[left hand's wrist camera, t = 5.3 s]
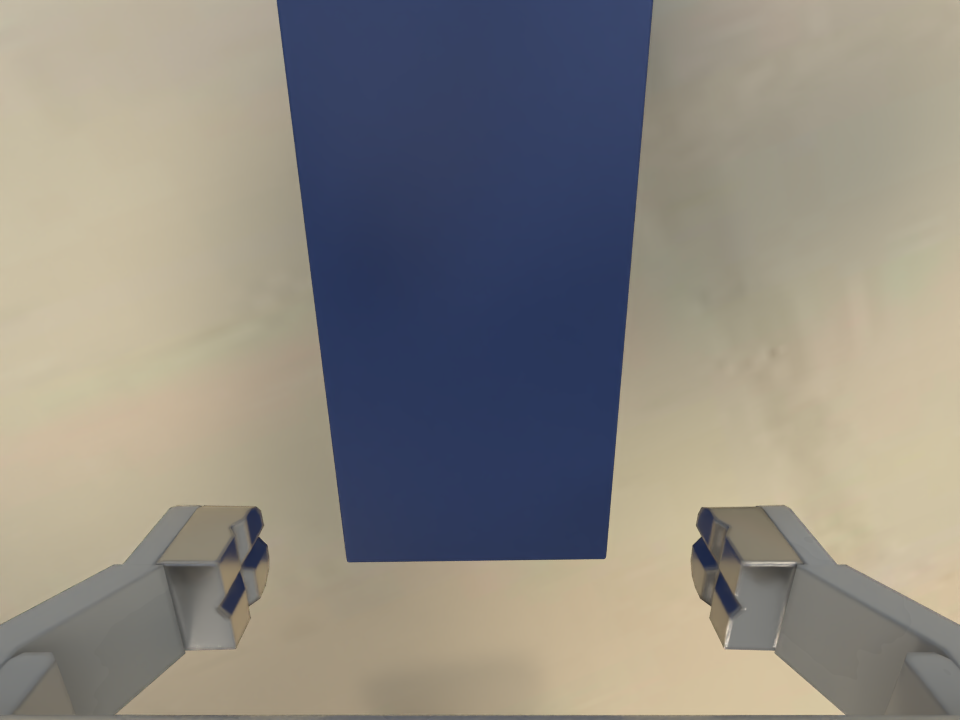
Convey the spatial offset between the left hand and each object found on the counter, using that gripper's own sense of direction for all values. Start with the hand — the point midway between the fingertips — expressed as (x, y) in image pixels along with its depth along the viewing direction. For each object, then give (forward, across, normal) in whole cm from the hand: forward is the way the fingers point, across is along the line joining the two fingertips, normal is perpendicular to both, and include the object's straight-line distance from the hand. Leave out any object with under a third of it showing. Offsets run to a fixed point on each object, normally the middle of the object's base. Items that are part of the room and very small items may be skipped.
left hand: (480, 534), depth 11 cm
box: (+13, 0, +9) cm, 16 cm away
